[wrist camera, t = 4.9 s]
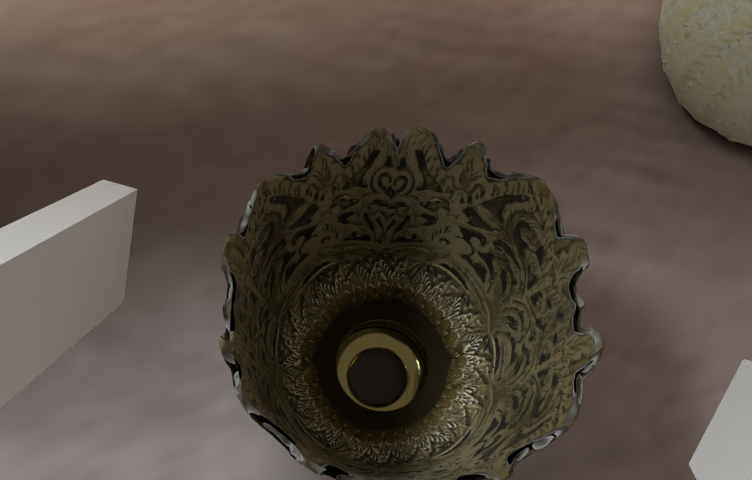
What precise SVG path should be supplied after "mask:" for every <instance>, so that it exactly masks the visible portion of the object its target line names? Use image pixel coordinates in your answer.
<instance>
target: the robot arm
mask: <svg viewBox="0 0 752 480" xmlns="http://www.w3.org/2000/svg"><path fill="white" fill-rule="evenodd" d="M136 197H137V189H135V188H132V187H128V186H125V185H121V184H117V183H114V182H110V181H107V180H101V181H99V182H97V183H95V184H93V185H91V186H89V187H86V188H84V189H82V190H80V191H78V192H76V193H74V194H72V195H70V196H67V197H65V198H63V199H61V200H59V201H57V202H55V203H53V204H51V205H48V206H46V207H44V208H42V209H40V210H38V211H36V212H34V213H32V214H29V215H27V216H25V217H23V218H21V219H19V220H17V221H15V222H13V223H10V224H8V225H6V226H4V227H2V228H0V409H1V408H2V407H3V406H4V405H6V404H7V403H8V402H9V401H10V400H11V399H12V398H14V397H15V396H16V395H17V394H18V393H19V392H21V391H22V390H23V389H24V388H25V387H26V386H27V385H29V384H30V383H31V382H32V381H33V380H34V379H36V378H37V377H38V376H39V375H40V374H41V373H43V372H44V371H45V370H46V369H47V368H48V367H49V366H51V365H52V364H53V363H54V362H55V361H56V360H58V359H59V358H60V357H61V356H62V355H63V354H64V353H66V352H67V351H68V350H69V349H70V348H71V347H73V346H74V345H75V344H76V343H77V342H78V341H80V340H81V339H82V338H83V337H84V336H85V335H86V334H88V333H89V332H90V331H91V330H92V329H93V328H95V327H96V326H97V325H98V324H99V323H100V322H101V321H103V320H104V319H105V318H106V317H107V316H108V315H110V314H111V313H112V312H113V311H114V310H115V309H116V308H118V307H119V306H120V305H121V304H122V303H123V302H124V296H125V288H126V280H127V271H128V263H129V255H130V247H131V238H132V230H133V222H134V214H135V205H136ZM689 466H690V468H691V470H692V472H693V474H694V476H695V478H696V480H752V361H749V360H746V359H743V360H742V362H741V364H740V366H739V368H738V370H737V372H736V374H735V376H734V378H733V380H732V381H731V383H730V385H729V387H728V389H727V391H726V393H725V395H724V397H723V399H722V401H721V403H720V405H719V406H718V408H717V410H716V412H715V414H714V416H713V418H712V420H711V422H710V424H709V426H708V428H707V429H706V431H705V433H704V435H703V437H702V439H701V441H700V443H699V445H698V447H697V449H696V451H695V453H694V454H693V456H692V458H691V460H690V462H689Z"/></svg>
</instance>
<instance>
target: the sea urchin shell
mask: <svg viewBox="0 0 752 480" xmlns="http://www.w3.org/2000/svg"><path fill="white" fill-rule="evenodd" d="M658 25H659V31H658V34H659V37H660V38H659V42H660V45H661V51H662V56H661V59H662V60H663V61H662V63H663V68H662V70H663V71H664V72H665V75H666V76H667V77H668V80H669V82H670V84H671V85H672V87H673V91H674V93H675V95H676V97H677V99H678V103H679V104H680V105H682V106H683V107H684V108H685V109H686V110H687V111H688V112H689V113H690V114H691V115H692V117H693V118H694V119H695V120H697V121H698V122H700V123H701V124H703V125H705V126H707V127H710V128H712V129H714V130H716V131H717V132H718V133H719V134H721V135H723V136H725V137H726V138H727V139H728V140H729V141H735V142H740V143H743V144H746V145H749V146H752V0H662V8H661V15H660V19H659V21H658Z"/></svg>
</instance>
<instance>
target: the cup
mask: <svg viewBox="0 0 752 480" xmlns="http://www.w3.org/2000/svg"><path fill="white" fill-rule="evenodd" d="M457 155H458V156H457ZM450 160H451V161H450ZM490 160H491V157H490V155H489V153H488V149H487V148H486V147H485V146H484V144H483V143H482V142H480V141H472V142H470V143H469V144H468V145H467V146H465V147H464V148H463V149H461V150H459V152H458V153H457V154H456V155H454V156H453V157H451V159H446V158H445V153H444V149H443V147H442V144H441V143H440V140H439V138H438V136H437V135H435V134H434V133H433V132H431V131H429V130H427V129H425V128H413V129H411V130H406V131H402V132H401V134H400V136H399V137H398V138H397V139H396V138H395V136H394V134H392V135H390V134H389V133H388V132H387V130H386V129H384V128H382V127H380V126H379V127H377V128H375V129H374V130H373V131H372V132H370V133H369V134H368V135H366V136H365V137H364V138H363V139H362V140H361V141H360V142H359V143H358V144H357V145H353V146H351V147H350V148H349V150H348V151H347V153H346V157H345V158H344V159H340V158H339V156H338V155H336V154H335V152H334V150H333V149H330V148H328V147H326V146H325V145H323V144H316V145H315V146H314V147H313V149H312V150H311V152H310V154H309V156H308V159H307V161H306V164H305V167H304V168H303V170H302V171H299V172H297V173H294V174H287V173H285V172H282V173H280V174H277V175H275V176H273V177H271V178H269V179H267V180H265V181H262V182H260V183H259V184H258V185H257V186H256V187H255V189H254V190H253V192H252V194H251V196H250V198H249V201H248V203H247V206H246V209H245V212H244V215H243V216H242V218H241V219H240V223H239V226H238V229H237V233H236V234H234V233H233V234H229V235H228V237H227V238H226V240H225V242H224V244H223V247H222V250H221V268H222V270H223V271H224V273H225V276H226V280H227V283H228V289H227V298H226V302H225V304H224V306H223V315H224V319H225V322H226V332H225V333H224V334H223V337H222V336H220V337H219V345H220V349H221V352H222V355H223V358H224V360H225V362H226V363H227V365H228V366H229V368H230V369H231V372H232V378H233V385H234V390H235V393H236V395H237V397H238V399H239V400H240V402H241V404H242V406H243V407H244V409H245V410H246V411H247V412H248V414H249V415H250V416H251V418H252V419H253V420H254V421H256V422H257V423H258V424H259V425H260V426H261V427H262V428H264V429H265V430H266V431H267V432H269V433H270V434H271V435H272V436H273V437H274V438H275V439H276V440H277V441H279V442H280V443H281V444H282V445H283V446H284V447H285V448H286V449H287V450H288V451H289V453H290V455H291V456H292V457H293V458H294V459H295V460H297V461H298V462H299V463H301V464H302V465H304V466H305V467H306V468H308V469H309V470H311V471H313V472H314V473H316V474H318V475H327V476H330V477H333V478H335V479H337V480H505V479H507V478H508V477H510V476H511V475H512V473H513V466H514V464H516V463H517V462H519V461H520V460H522V459H524V458H525V457H527V456H529V455H531V454H533V453H535V452H537V451H539V450H541V449H543V448H544V447H546V446H547V445H549V444H550V443H552V442H553V441H554V440H556V439H557V438H558V437H560V436H561V435H562V434H563V433H565V432H566V431H567V430H568V429H569V428H570V427H571V426H572V425H573V423H574V422H575V420H576V418H577V416H578V413H579V409H580V406H581V402H582V385H583V379H584V377H586V376H587V375H588V374H589V373H591V371H592V370H593V369H594V368H595V366H596V364H597V362H598V360H599V358H600V356H601V354H602V351H603V348H604V342H603V338H602V335H601V334H600V333H597V332H596V331H595V330H594V329H593V328H592V327H591V328H592V329H591V328H590V327H588V326H587V328H585V327H584V326H582V323H581V319H582V315H583V311H584V302H583V301H582V300H581V299H580V298H579V296H578V290H577V281H578V279H579V277H580V275H581V273H582V272H583V271H584V270H585V269H586V268H588V266H589V257H588V252H587V246H586V243H585V242H584V240H583V239H582V238H580V237H579V236H576V235H570V234H565V235H564V231H563V227H562V216H561V212H560V209H559V207H558V204H557V202H556V200H555V198H554V196H553V195H552V193H551V191H550V190H549V189H548V187H547V186H546V184H545V182H544V181H543V180H542V179H541V178H539V177H536V176H533V175H528V174H521V173H514V172H513V173H502V172H498V171H493V172H492V171H491V169H492V170H493V168H491V169H490ZM491 161H492V160H491ZM492 163H493V161H492ZM493 165H494V163H493ZM582 330H583V331H584V332H585V333H583V332H582ZM371 350H383V351H386V352H388V353H390V354H392V355H393V356H395V357H396V358H397V359H398V360H399V362H400V363H401V365H402V368H403V371H404V384H403V387H402V390H401V391H400V393H399V394H398V395H397V397H395V398H394V399H393V400H391V401H389V402H387V403H384V404H372V403H368V402H366V401H364V400H362V399H361V398H360V397H359V396H358V395H357V394H356V393H355V391H354V390H353V388H352V385H351V382H350V372H351V368H352V365H353V363H354V362H355V360H356V359H357V358H358V357H359V356H360V355H362V354H363V353H365V352H367V351H371Z"/></svg>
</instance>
